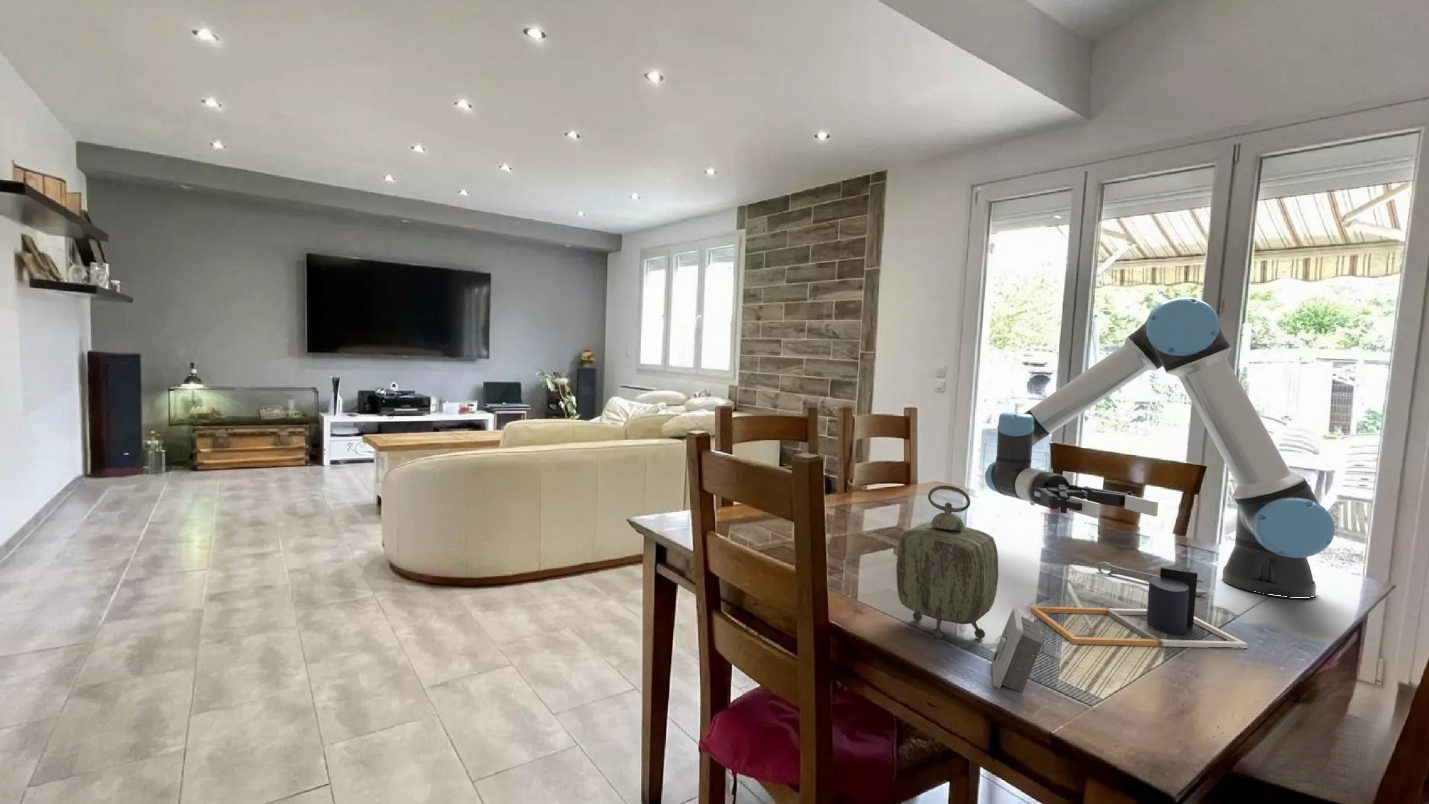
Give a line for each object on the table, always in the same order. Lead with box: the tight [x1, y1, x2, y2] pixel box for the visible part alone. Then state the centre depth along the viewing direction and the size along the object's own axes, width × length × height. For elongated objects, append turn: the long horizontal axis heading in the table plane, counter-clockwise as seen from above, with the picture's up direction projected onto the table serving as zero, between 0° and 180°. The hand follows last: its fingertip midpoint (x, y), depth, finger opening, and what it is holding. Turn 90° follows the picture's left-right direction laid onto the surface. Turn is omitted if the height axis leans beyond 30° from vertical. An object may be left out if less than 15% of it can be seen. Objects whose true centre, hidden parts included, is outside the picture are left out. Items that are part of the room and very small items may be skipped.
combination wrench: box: [1097, 561, 1208, 597], centre depth 138 cm, size 4×1×20 cm
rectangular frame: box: [1029, 605, 1248, 649], centre depth 114 cm, size 28×15×1 cm, turn 90°
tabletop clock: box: [895, 485, 999, 640], centre depth 108 cm, size 14×9×25 cm, turn 50°
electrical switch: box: [991, 607, 1043, 693], centre depth 93 cm, size 9×5×9 cm, turn 158°
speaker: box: [1146, 566, 1199, 635], centre depth 114 cm, size 8×6×10 cm
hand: (1127, 510), depth 122 cm, fingers open, 13 cm apart
